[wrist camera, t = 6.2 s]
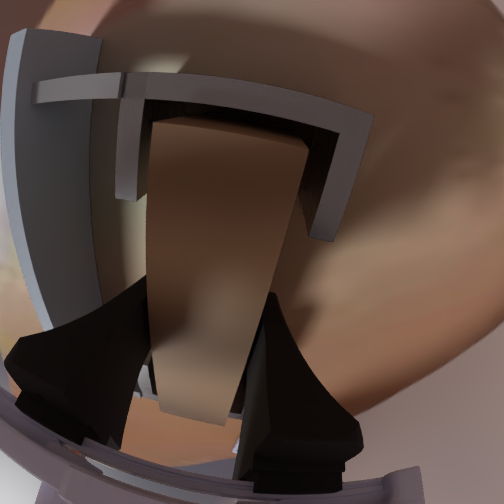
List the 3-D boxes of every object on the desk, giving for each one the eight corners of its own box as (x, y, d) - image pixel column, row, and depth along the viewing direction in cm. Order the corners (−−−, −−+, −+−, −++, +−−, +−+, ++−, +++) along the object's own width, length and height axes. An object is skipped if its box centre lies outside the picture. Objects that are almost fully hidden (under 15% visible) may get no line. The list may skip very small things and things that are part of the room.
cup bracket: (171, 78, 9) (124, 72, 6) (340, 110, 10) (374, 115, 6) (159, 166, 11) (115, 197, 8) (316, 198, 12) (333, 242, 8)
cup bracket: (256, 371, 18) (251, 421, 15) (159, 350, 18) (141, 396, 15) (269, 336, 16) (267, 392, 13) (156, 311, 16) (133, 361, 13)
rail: (235, 358, 17) (224, 426, 13) (181, 346, 17) (160, 411, 13) (294, 129, 10) (309, 150, 6) (204, 112, 10) (153, 122, 6)
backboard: (160, 366, 19) (141, 420, 15) (103, 347, 19) (78, 396, 15) (181, 34, 8) (122, 1, 4) (86, 41, 8) (11, 34, 4)
